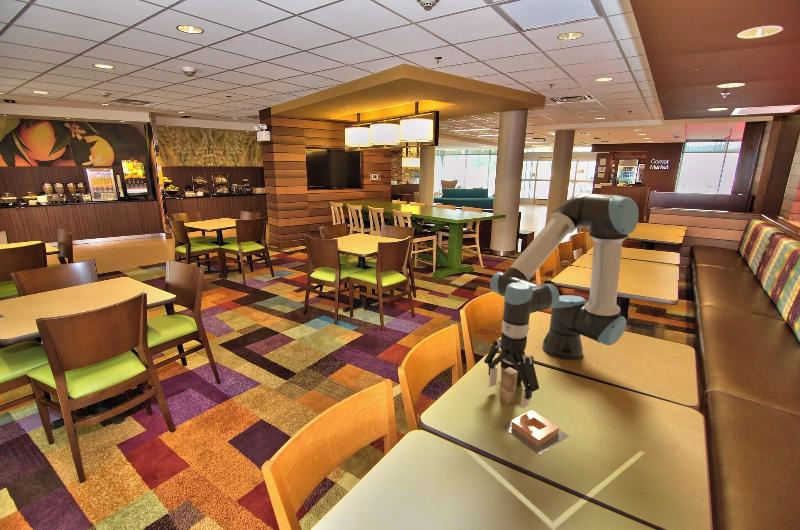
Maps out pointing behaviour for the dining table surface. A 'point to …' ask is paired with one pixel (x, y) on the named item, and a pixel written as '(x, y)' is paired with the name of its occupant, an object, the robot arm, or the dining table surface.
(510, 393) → the brown wooden block
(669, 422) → the dining table surface
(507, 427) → the plate
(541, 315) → the dining table surface
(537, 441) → the orange square frame
